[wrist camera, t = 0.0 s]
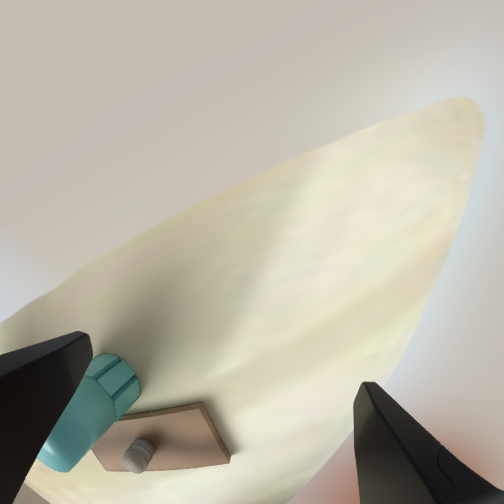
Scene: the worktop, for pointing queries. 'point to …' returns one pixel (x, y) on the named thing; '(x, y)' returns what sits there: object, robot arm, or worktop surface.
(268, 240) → the worktop surface
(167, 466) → the brown block with knob
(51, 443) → the teal cap
